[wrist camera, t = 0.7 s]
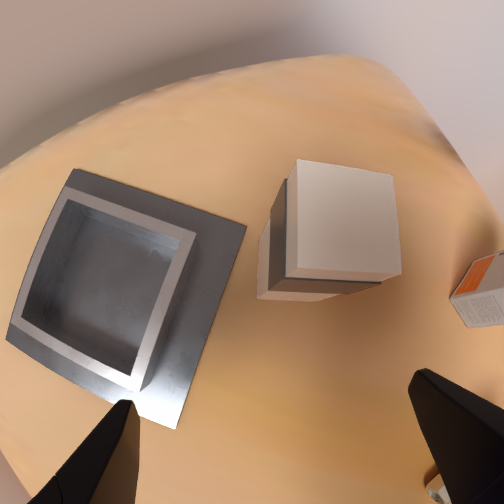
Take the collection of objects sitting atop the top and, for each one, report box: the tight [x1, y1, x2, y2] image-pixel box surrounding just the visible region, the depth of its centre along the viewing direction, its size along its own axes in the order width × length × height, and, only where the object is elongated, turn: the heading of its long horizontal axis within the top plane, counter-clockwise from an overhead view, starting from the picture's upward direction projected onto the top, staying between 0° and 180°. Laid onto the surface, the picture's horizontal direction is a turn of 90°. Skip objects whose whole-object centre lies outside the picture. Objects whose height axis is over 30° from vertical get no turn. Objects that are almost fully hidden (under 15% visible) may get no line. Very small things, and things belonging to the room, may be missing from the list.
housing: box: [5, 168, 246, 429], centre depth 20 cm, size 16×16×4 cm
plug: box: [256, 159, 402, 302], centre depth 18 cm, size 5×5×12 cm
